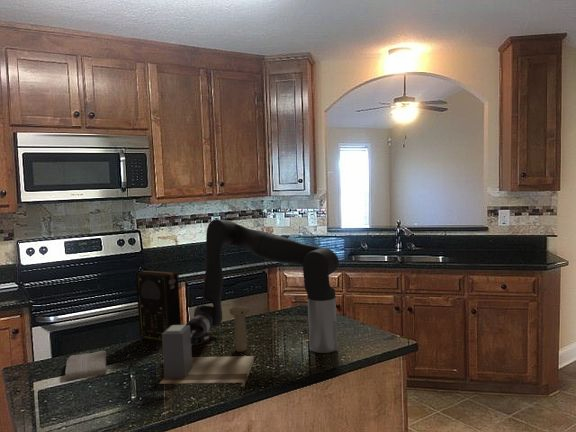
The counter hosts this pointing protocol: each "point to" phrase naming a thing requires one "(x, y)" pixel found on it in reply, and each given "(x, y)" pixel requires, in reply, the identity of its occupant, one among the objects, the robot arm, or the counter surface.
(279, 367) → the counter surface
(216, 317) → the robot arm
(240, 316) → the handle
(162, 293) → the voltmeter
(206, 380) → the subfloor panel
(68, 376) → the washcloth
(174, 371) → the grey tall block
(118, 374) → the counter surface
